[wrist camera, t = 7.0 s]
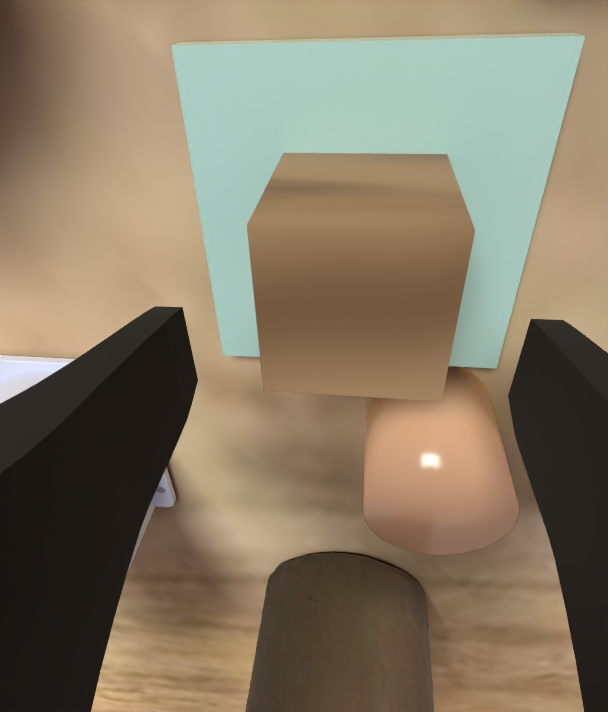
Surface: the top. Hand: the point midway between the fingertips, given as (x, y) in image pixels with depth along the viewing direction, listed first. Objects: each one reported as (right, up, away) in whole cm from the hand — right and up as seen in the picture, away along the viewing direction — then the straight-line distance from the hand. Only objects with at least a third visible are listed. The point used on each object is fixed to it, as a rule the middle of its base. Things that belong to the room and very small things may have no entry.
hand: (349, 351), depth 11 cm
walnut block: (+1, +4, +4) cm, 6 cm away
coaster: (+1, +4, +5) cm, 7 cm away
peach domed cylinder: (+4, -2, +10) cm, 11 cm away
